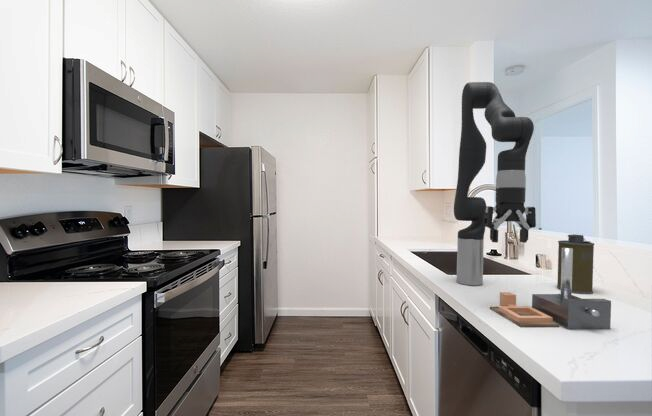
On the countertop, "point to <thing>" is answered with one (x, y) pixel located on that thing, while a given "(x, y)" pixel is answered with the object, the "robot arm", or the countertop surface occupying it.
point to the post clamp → (573, 303)
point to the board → (526, 324)
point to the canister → (578, 263)
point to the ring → (520, 310)
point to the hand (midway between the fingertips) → (508, 242)
